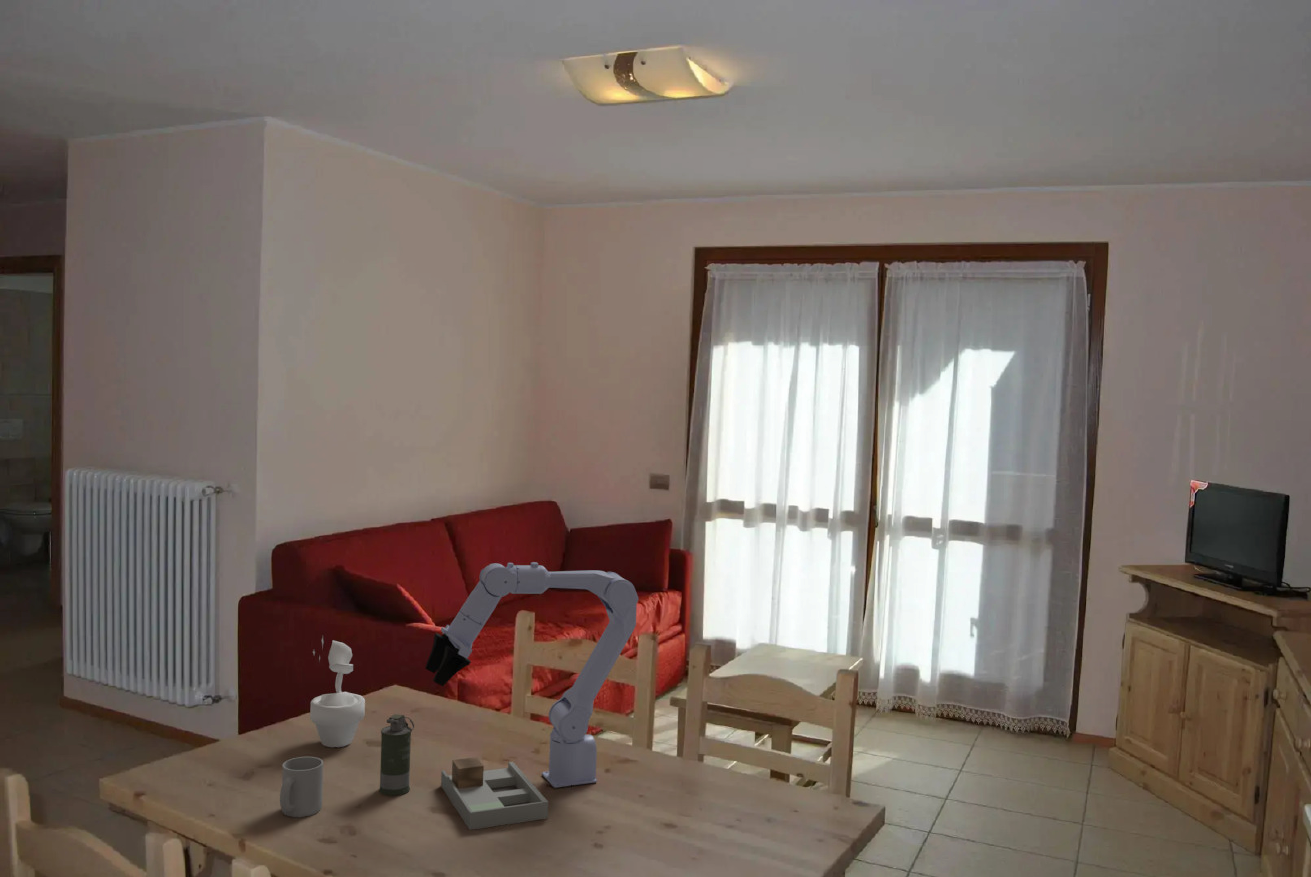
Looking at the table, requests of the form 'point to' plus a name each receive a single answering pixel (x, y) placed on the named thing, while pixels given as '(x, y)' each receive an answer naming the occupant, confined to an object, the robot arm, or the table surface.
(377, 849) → the table surface
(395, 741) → the grenade
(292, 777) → the cup
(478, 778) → the block
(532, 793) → the tray
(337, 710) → the potted plant
